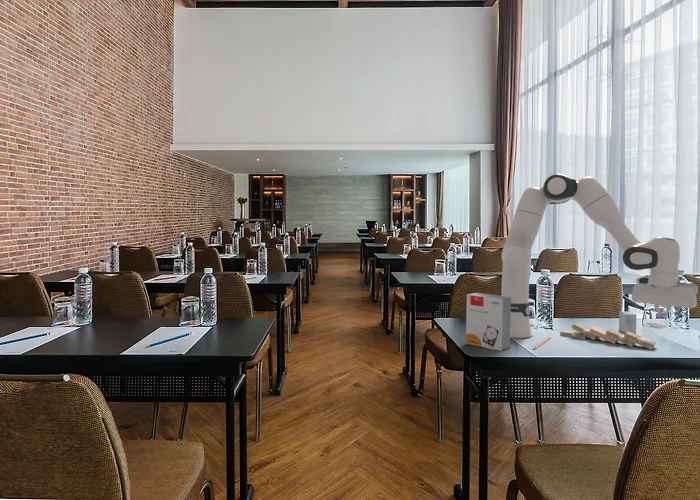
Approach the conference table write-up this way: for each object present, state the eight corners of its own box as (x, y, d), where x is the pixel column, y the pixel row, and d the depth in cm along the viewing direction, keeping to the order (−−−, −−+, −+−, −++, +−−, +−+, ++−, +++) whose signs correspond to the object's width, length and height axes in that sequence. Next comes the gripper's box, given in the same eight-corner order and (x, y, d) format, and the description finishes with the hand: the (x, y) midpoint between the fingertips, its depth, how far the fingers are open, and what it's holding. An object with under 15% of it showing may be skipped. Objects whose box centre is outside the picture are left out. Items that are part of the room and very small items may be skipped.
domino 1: (584, 340, 194) (560, 336, 201) (589, 338, 198) (564, 334, 205) (584, 335, 194) (560, 331, 201) (589, 333, 198) (564, 329, 205)
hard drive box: (464, 344, 186) (465, 294, 185) (474, 341, 191) (475, 292, 190) (501, 351, 175) (502, 298, 174) (510, 347, 180) (511, 296, 180)
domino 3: (614, 344, 186) (588, 332, 192) (618, 341, 189) (592, 330, 196) (616, 339, 185) (590, 328, 192) (619, 337, 189) (594, 326, 195)
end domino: (651, 349, 177) (623, 337, 183) (653, 347, 181) (626, 335, 187) (653, 345, 177) (625, 333, 183) (655, 342, 180) (627, 330, 186)
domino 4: (631, 346, 181) (605, 334, 188) (635, 344, 185) (608, 332, 191) (633, 342, 181) (606, 330, 187) (637, 339, 185) (610, 328, 191)
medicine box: (636, 334, 202) (637, 314, 202) (625, 334, 203) (625, 314, 203) (629, 330, 210) (629, 311, 209) (618, 330, 211) (619, 311, 210)
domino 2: (594, 339, 192) (571, 328, 199) (599, 338, 195) (577, 327, 202) (595, 335, 191) (573, 323, 198) (601, 334, 194) (578, 322, 202)
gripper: (700, 282, 170) (698, 320, 171) (636, 277, 185) (634, 312, 186) (696, 283, 166) (694, 322, 167) (631, 278, 180) (629, 314, 181)
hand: (662, 317), depth 176 cm, fingers closed
